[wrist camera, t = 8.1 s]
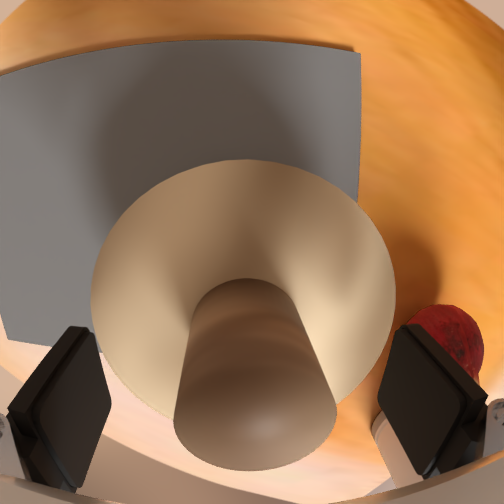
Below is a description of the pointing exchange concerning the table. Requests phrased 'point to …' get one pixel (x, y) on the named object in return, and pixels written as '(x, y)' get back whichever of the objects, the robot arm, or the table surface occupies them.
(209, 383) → the lid
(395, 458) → the travel mug
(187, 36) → the table surface
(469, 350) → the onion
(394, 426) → the robot arm
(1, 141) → the mat
